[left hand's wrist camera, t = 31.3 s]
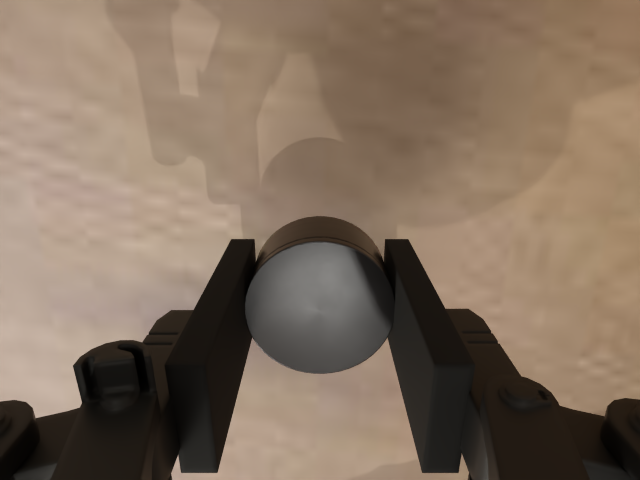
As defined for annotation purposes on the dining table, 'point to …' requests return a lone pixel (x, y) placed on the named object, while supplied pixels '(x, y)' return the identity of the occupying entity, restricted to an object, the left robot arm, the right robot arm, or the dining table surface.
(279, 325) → the cap
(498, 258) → the dining table surface
